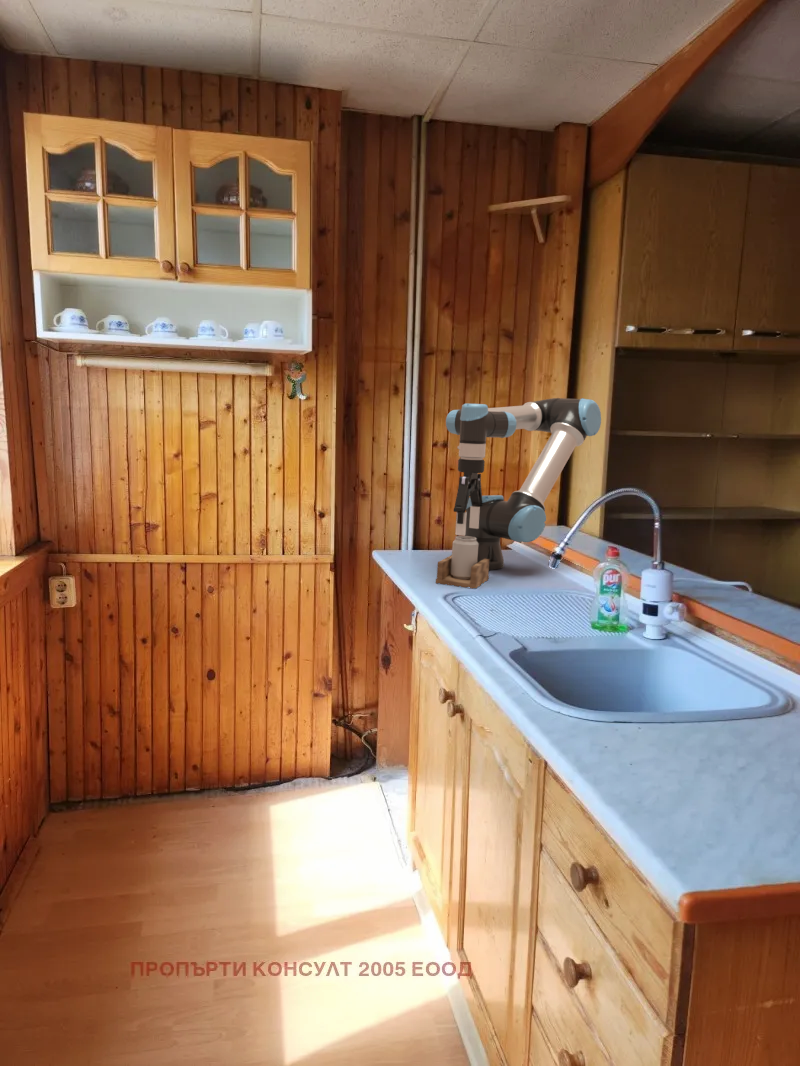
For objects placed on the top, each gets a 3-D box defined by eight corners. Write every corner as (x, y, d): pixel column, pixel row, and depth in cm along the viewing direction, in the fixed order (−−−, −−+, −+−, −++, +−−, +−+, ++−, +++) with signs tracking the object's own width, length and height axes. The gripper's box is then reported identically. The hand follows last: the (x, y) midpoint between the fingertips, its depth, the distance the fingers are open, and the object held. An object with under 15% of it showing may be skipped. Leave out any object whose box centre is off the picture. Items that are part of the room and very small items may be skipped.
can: (475, 575, 216) (478, 535, 214) (476, 580, 208) (479, 539, 206) (450, 573, 216) (453, 533, 214) (450, 578, 209) (453, 538, 207)
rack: (450, 574, 221) (452, 554, 220) (488, 579, 217) (490, 559, 216) (435, 583, 208) (437, 562, 207) (475, 588, 204) (477, 567, 203)
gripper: (471, 455, 219) (467, 524, 223) (445, 459, 196) (441, 536, 200) (495, 456, 216) (490, 526, 220) (471, 461, 194) (467, 539, 197)
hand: (467, 531), depth 210 cm, fingers open, 13 cm apart
